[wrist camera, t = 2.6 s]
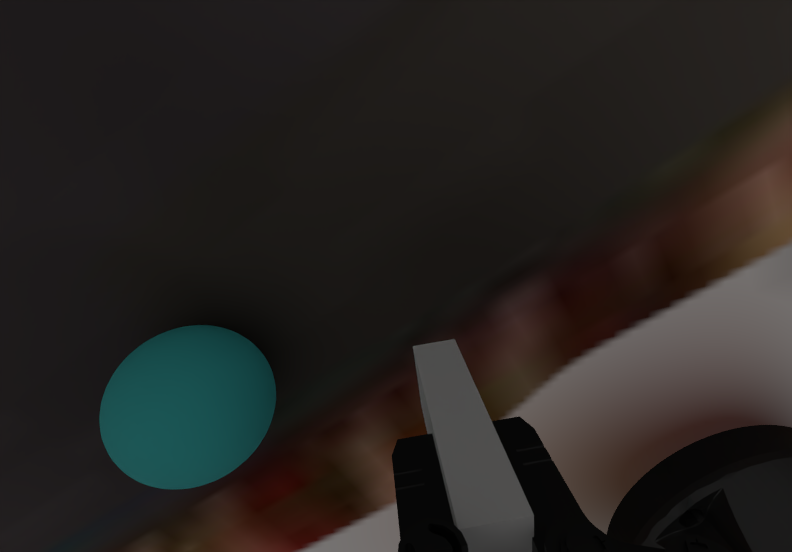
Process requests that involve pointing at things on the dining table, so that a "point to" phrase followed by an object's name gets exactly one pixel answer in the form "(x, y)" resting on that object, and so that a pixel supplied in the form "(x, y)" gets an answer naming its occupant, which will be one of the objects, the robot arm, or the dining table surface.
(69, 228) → the dining table surface
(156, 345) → the ball
